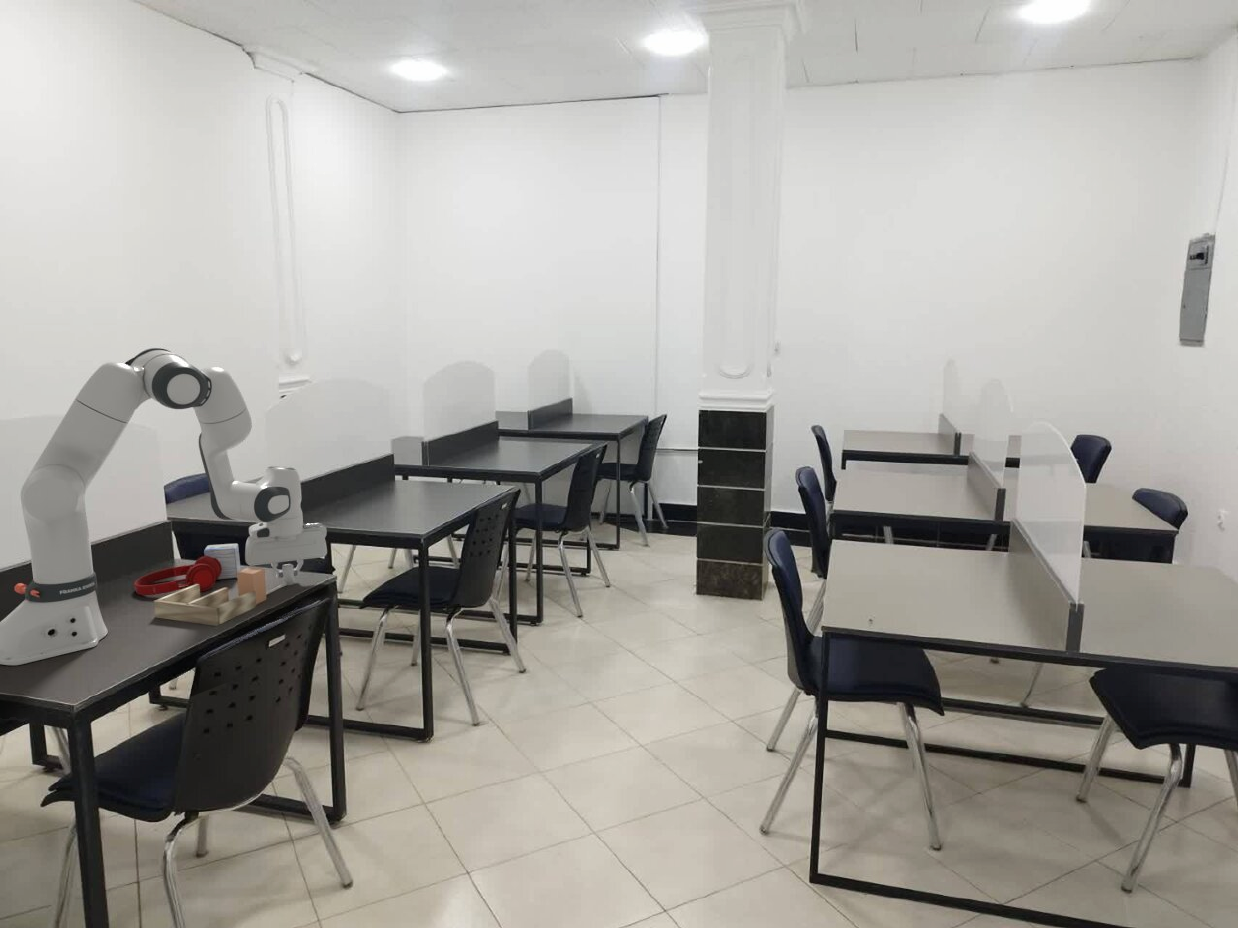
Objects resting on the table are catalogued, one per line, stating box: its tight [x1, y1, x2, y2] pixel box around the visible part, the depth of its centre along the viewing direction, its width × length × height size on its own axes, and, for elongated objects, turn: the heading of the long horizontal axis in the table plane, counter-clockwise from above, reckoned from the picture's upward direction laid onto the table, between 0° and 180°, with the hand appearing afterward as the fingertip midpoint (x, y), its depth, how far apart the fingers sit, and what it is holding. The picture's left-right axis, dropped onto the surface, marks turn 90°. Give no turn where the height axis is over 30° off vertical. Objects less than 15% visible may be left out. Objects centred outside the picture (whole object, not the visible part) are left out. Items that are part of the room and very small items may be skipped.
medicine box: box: [203, 543, 242, 581], centre depth 234 cm, size 8×4×9 cm, turn 105°
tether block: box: [236, 563, 295, 605], centre depth 223 cm, size 18×4×8 cm, turn 165°
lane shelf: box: [153, 584, 257, 627], centre depth 209 cm, size 14×18×4 cm
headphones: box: [133, 555, 222, 596], centre depth 226 cm, size 15×7×20 cm
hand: (288, 576), depth 231 cm, fingers closed on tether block, 3 cm apart
